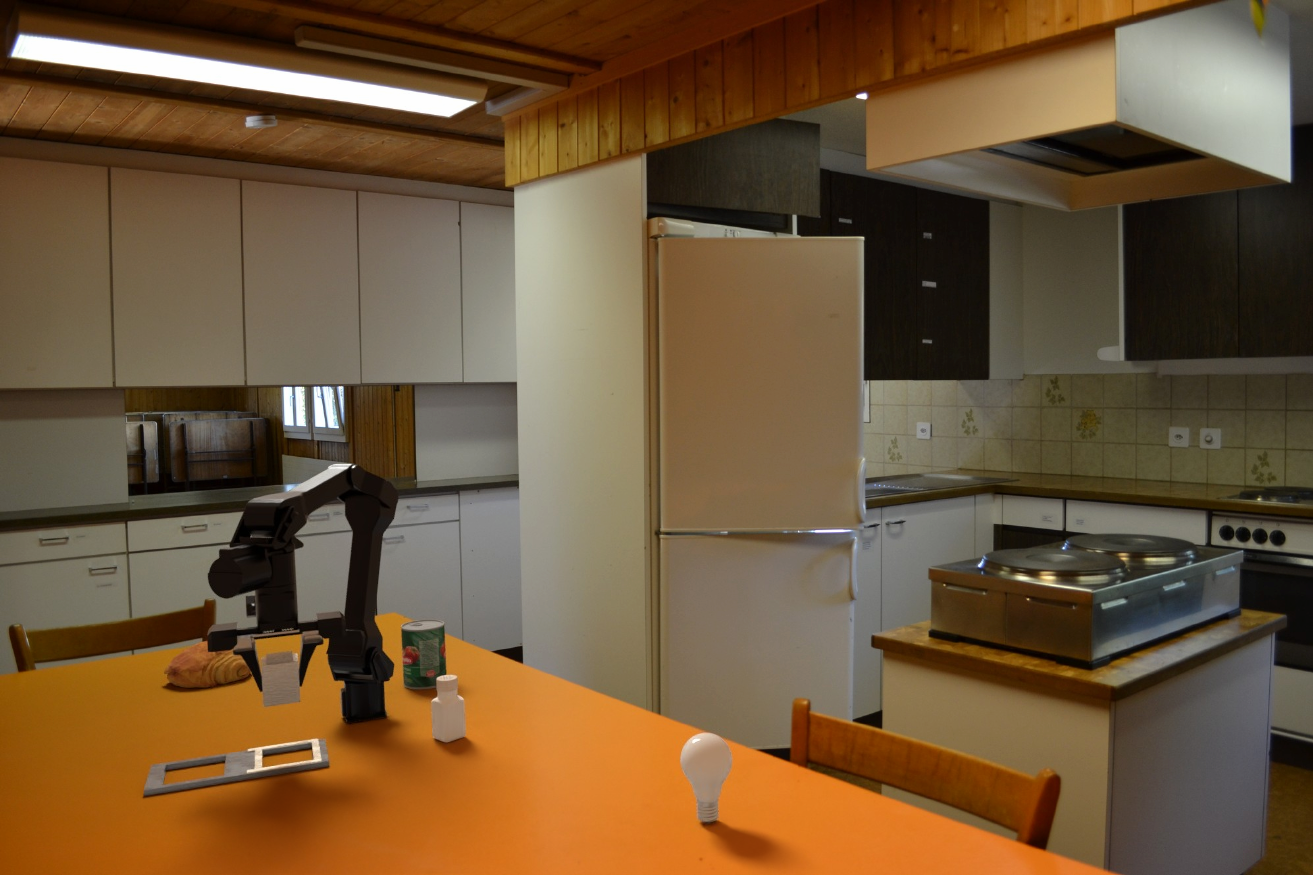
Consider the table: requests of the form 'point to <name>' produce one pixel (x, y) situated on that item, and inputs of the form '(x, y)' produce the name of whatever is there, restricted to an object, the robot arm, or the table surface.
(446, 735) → the pepper shaker
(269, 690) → the grey upright rectangular block
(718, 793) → the lightbulb
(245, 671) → the croissant
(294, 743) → the rail
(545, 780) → the table surface
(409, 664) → the canned tomato
